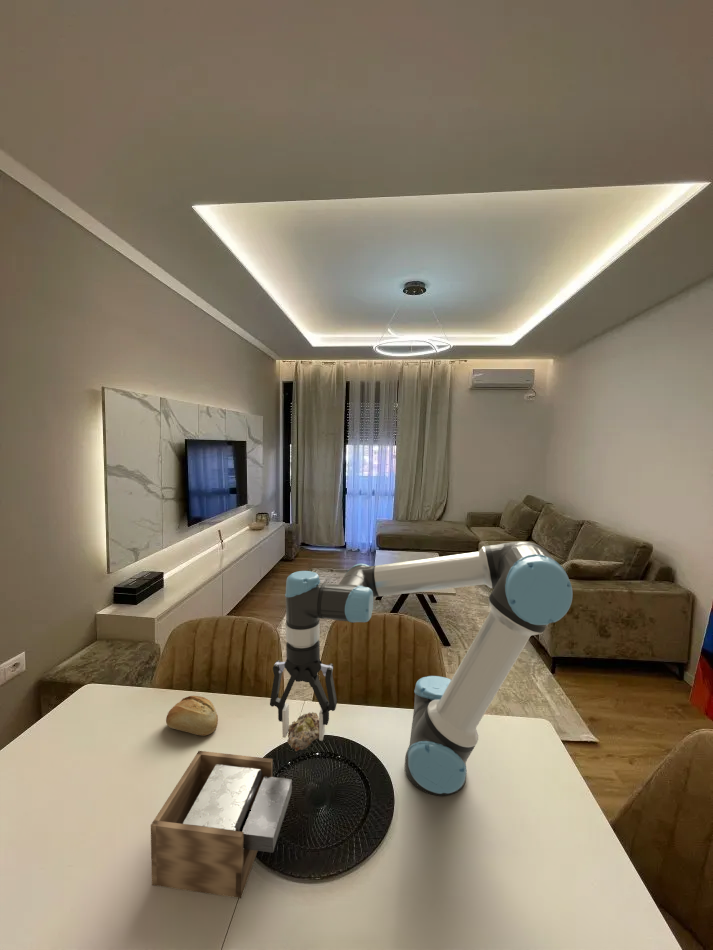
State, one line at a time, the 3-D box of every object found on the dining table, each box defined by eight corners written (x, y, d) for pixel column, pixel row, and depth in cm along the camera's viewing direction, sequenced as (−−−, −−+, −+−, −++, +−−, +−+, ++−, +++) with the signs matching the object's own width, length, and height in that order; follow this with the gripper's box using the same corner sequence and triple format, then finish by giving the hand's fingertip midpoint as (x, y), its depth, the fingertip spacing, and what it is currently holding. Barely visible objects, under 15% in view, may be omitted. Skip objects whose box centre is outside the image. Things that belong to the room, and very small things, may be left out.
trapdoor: (182, 843, 77) (182, 823, 76) (216, 781, 91) (216, 763, 90) (272, 855, 75) (272, 834, 75) (292, 790, 89) (292, 772, 89)
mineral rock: (294, 708, 102) (323, 705, 100) (299, 724, 103) (328, 722, 100) (275, 740, 92) (307, 737, 90) (280, 758, 92) (312, 756, 90)
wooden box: (272, 809, 92) (272, 758, 91) (241, 898, 74) (241, 837, 73) (199, 800, 94) (198, 750, 93) (151, 885, 76) (150, 825, 75)
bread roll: (178, 713, 123) (178, 687, 122) (225, 720, 120) (225, 694, 120) (157, 735, 114) (157, 708, 113) (208, 744, 111) (208, 716, 110)
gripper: (350, 635, 97) (350, 727, 99) (264, 630, 99) (265, 720, 101) (346, 651, 89) (345, 750, 91) (253, 646, 92) (254, 743, 94)
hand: (303, 734), depth 96 cm, fingers closed on mineral rock, 8 cm apart
